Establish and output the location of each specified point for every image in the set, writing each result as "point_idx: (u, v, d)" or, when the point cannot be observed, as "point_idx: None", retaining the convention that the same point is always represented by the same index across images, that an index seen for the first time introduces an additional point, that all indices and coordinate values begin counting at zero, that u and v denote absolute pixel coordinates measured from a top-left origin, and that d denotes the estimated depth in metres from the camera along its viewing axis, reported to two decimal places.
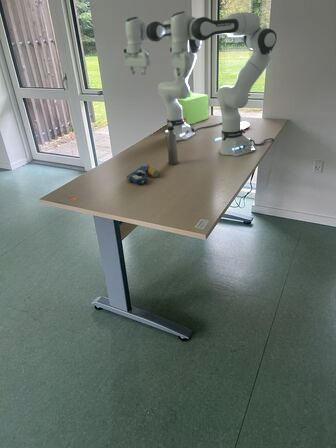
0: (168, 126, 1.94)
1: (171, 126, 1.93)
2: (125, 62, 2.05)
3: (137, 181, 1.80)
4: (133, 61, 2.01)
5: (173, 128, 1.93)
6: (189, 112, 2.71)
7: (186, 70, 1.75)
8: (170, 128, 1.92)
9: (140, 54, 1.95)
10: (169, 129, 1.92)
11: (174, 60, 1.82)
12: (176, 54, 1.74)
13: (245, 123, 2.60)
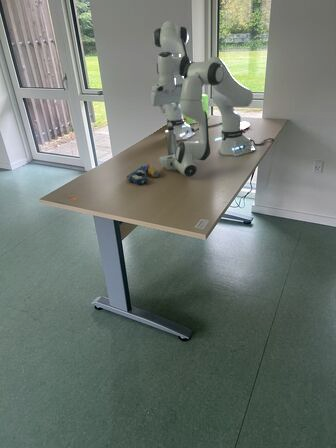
0: (168, 126, 1.94)
1: (171, 126, 1.93)
2: (156, 101, 1.81)
3: (137, 181, 1.80)
4: (167, 98, 1.83)
5: (173, 128, 1.93)
6: None
7: None
8: (170, 128, 1.92)
9: (178, 89, 1.84)
10: (169, 129, 1.92)
11: None
12: None
13: (245, 123, 2.60)
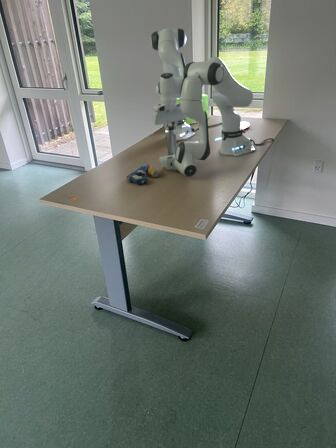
0: (168, 126, 1.94)
1: (171, 126, 1.93)
2: (157, 121, 1.86)
3: (137, 181, 1.80)
4: (168, 117, 1.88)
5: (173, 128, 1.93)
6: None
7: None
8: (170, 128, 1.92)
9: (179, 108, 1.89)
10: (169, 129, 1.92)
11: None
12: None
13: (245, 123, 2.60)
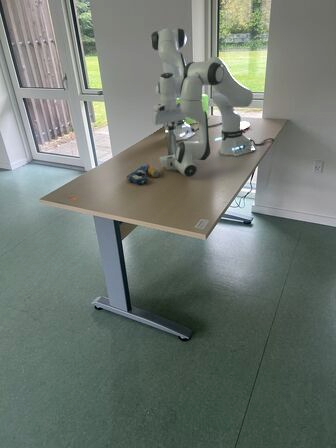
0: (169, 127, 1.92)
1: (170, 126, 1.94)
2: (157, 120, 1.86)
3: (137, 181, 1.80)
4: (168, 117, 1.88)
5: None
6: None
7: None
8: None
9: (179, 108, 1.89)
10: (173, 128, 1.93)
11: None
12: None
13: (245, 123, 2.60)
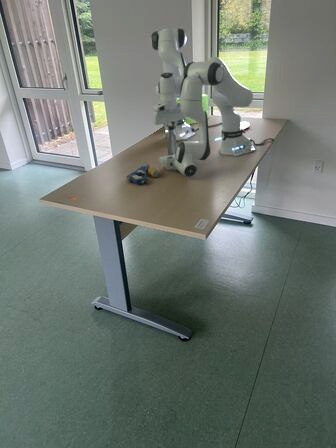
0: (172, 126, 1.92)
1: (169, 126, 1.93)
2: (157, 120, 1.86)
3: (137, 181, 1.80)
4: (168, 117, 1.88)
5: None
6: None
7: None
8: (171, 126, 1.95)
9: (179, 108, 1.89)
10: None
11: None
12: None
13: (245, 123, 2.60)
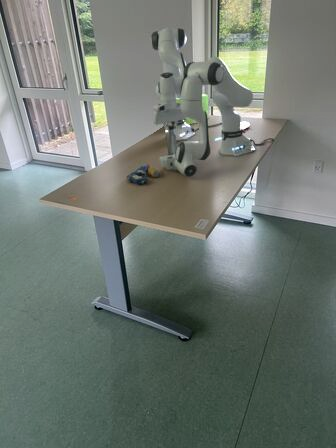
0: (172, 125, 1.94)
1: (170, 126, 1.93)
2: (157, 120, 1.86)
3: (137, 181, 1.80)
4: (168, 117, 1.88)
5: None
6: None
7: None
8: (167, 126, 1.94)
9: (179, 108, 1.89)
10: (168, 127, 1.95)
11: None
12: None
13: (245, 123, 2.60)
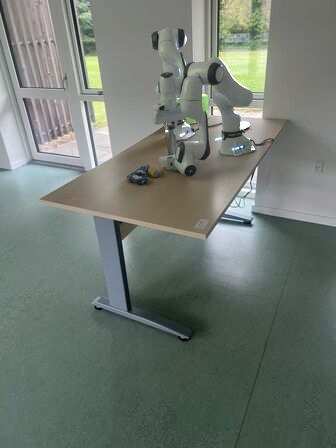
0: (169, 125, 1.94)
1: (171, 126, 1.93)
2: (157, 120, 1.86)
3: (137, 181, 1.80)
4: (168, 117, 1.88)
5: (171, 128, 1.92)
6: None
7: None
8: (168, 127, 1.92)
9: (179, 108, 1.89)
10: None
11: None
12: None
13: (245, 123, 2.60)
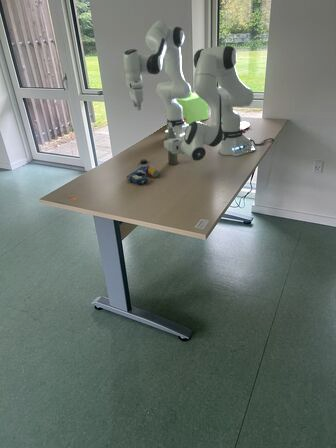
0: (143, 161, 2.07)
1: (143, 160, 2.09)
2: None
3: (137, 181, 1.80)
4: None
5: None
6: (189, 112, 2.71)
7: None
8: (146, 160, 2.09)
9: None
10: (146, 161, 2.09)
11: None
12: None
13: (245, 123, 2.60)
